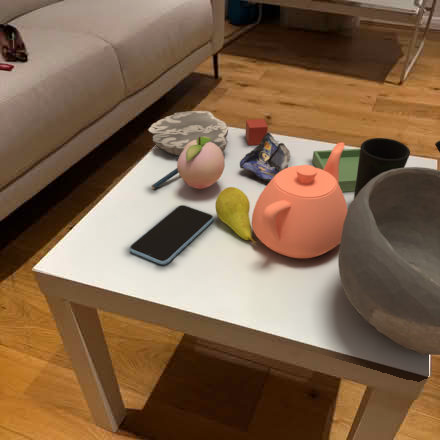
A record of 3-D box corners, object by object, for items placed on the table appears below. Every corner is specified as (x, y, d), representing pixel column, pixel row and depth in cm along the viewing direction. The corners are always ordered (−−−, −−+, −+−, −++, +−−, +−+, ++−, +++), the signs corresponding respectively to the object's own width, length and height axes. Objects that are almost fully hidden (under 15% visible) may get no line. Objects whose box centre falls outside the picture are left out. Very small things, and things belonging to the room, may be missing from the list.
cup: (388, 228, 79) (408, 163, 70) (343, 218, 81) (357, 155, 72) (392, 204, 84) (411, 142, 76) (350, 196, 86) (364, 134, 78)
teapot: (295, 191, 87) (304, 127, 78) (370, 220, 80) (388, 154, 72) (223, 248, 74) (224, 180, 66) (304, 288, 68) (317, 218, 59)
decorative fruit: (218, 203, 84) (218, 152, 77) (174, 198, 85) (171, 147, 78) (228, 177, 90) (229, 128, 83) (187, 173, 91) (185, 123, 84)
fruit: (211, 204, 82) (233, 263, 77) (209, 186, 76) (232, 248, 72) (242, 194, 82) (266, 252, 78) (242, 175, 76) (267, 237, 72)
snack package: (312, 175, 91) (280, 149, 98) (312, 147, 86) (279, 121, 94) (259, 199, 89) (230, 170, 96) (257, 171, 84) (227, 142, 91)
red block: (262, 136, 104) (264, 118, 101) (266, 144, 101) (267, 126, 98) (245, 137, 103) (246, 119, 101) (248, 145, 100) (249, 127, 98)
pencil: (150, 184, 87) (208, 145, 92) (152, 189, 88) (209, 149, 93) (153, 185, 86) (210, 145, 92) (155, 190, 87) (212, 150, 92)
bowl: (442, 425, 53) (536, 356, 42) (277, 297, 61) (319, 209, 49) (502, 314, 68) (584, 241, 56) (363, 221, 75) (411, 140, 64)
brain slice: (144, 128, 106) (142, 115, 104) (216, 121, 109) (216, 108, 107) (158, 170, 92) (156, 156, 90) (239, 160, 96) (240, 146, 94)
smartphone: (215, 215, 80) (164, 263, 70) (215, 219, 80) (164, 267, 71) (180, 202, 82) (126, 247, 73) (180, 206, 83) (127, 251, 74)
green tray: (368, 158, 97) (371, 147, 95) (391, 189, 88) (394, 178, 86) (311, 161, 96) (313, 150, 94) (329, 192, 87) (331, 181, 85)
